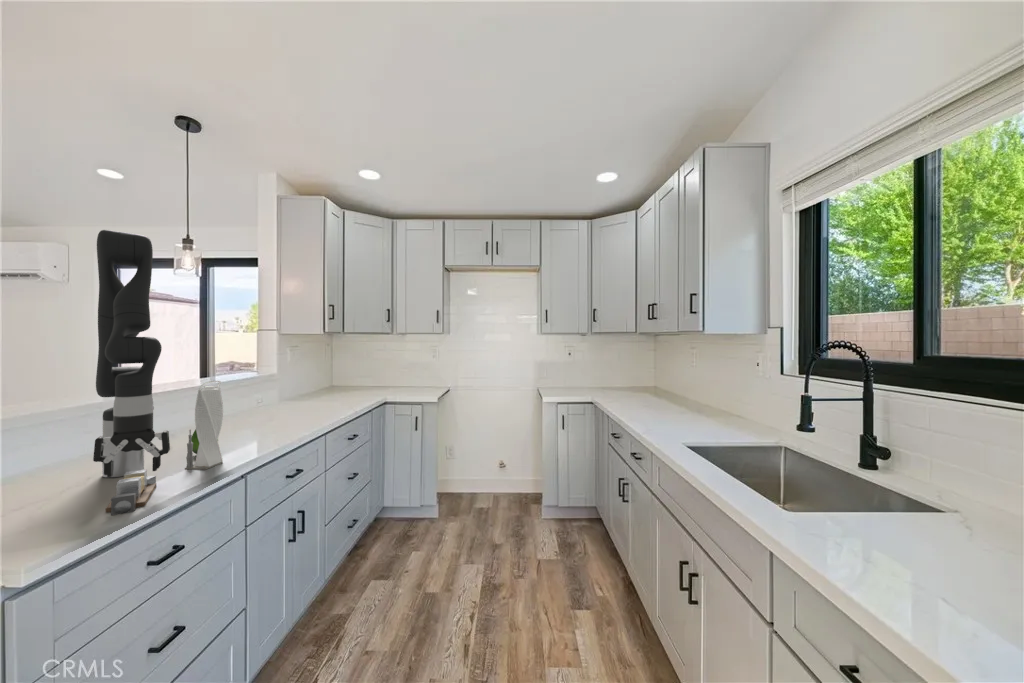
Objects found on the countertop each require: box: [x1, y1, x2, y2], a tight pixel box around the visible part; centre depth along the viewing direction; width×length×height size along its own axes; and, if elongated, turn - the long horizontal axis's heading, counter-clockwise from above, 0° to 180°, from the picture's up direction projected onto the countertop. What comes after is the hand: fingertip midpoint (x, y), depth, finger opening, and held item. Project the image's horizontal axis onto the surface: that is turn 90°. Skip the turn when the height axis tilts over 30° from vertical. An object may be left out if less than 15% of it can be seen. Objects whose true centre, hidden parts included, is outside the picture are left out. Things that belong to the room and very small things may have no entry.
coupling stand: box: [105, 475, 157, 516], centre depth 102 cm, size 21×7×4 cm, turn 35°
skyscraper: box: [184, 380, 224, 471], centre depth 128 cm, size 8×8×28 cm
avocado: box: [191, 428, 199, 455], centre depth 140 cm, size 8×8×12 cm
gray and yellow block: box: [115, 468, 148, 500], centre depth 101 cm, size 4×10×5 cm, turn 35°
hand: (133, 473), depth 102 cm, fingers open, 8 cm apart
